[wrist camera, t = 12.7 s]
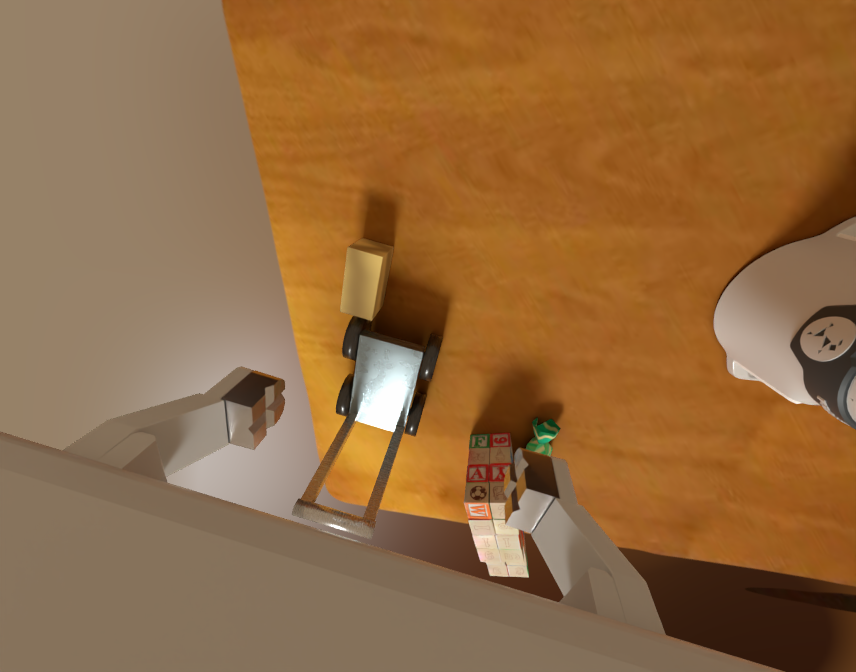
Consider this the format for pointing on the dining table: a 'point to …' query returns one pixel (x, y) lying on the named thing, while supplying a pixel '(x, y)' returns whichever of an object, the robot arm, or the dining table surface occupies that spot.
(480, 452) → the stack of blocks
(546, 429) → the candy
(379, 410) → the trolley
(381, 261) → the block
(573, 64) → the dining table surface
